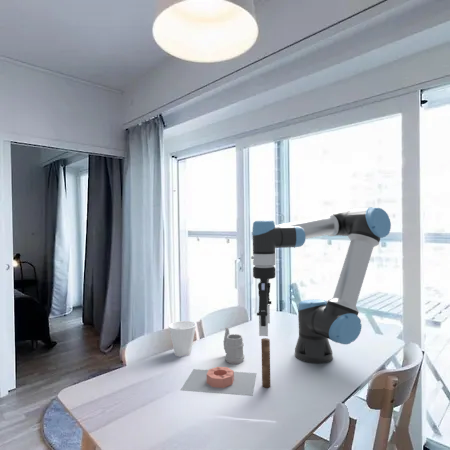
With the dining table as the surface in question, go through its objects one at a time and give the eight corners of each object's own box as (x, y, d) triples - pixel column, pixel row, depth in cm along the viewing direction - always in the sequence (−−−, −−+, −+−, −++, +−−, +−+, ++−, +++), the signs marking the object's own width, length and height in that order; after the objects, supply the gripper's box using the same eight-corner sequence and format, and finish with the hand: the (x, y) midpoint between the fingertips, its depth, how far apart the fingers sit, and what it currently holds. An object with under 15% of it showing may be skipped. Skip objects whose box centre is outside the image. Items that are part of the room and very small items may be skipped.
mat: (256, 374, 119) (256, 373, 119) (252, 396, 103) (252, 395, 103) (193, 370, 123) (193, 369, 123) (180, 391, 108) (180, 390, 108)
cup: (178, 361, 131) (178, 331, 132) (163, 353, 140) (163, 324, 140) (202, 353, 139) (201, 324, 139) (186, 346, 148) (186, 319, 148)
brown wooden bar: (270, 385, 111) (269, 338, 111) (270, 389, 108) (269, 341, 108) (262, 384, 111) (261, 338, 111) (261, 388, 109) (261, 340, 109)
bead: (235, 376, 117) (234, 367, 117) (231, 388, 108) (230, 379, 108) (210, 374, 119) (210, 366, 119) (204, 386, 110) (204, 377, 110)
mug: (232, 366, 126) (231, 335, 126) (216, 356, 136) (216, 327, 136) (248, 362, 130) (247, 332, 130) (232, 352, 140) (231, 324, 140)
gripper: (256, 262, 123) (256, 318, 123) (249, 270, 98) (249, 341, 98) (276, 262, 121) (276, 319, 121) (274, 271, 97) (275, 342, 97)
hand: (264, 329), depth 110 cm, fingers open, 13 cm apart
